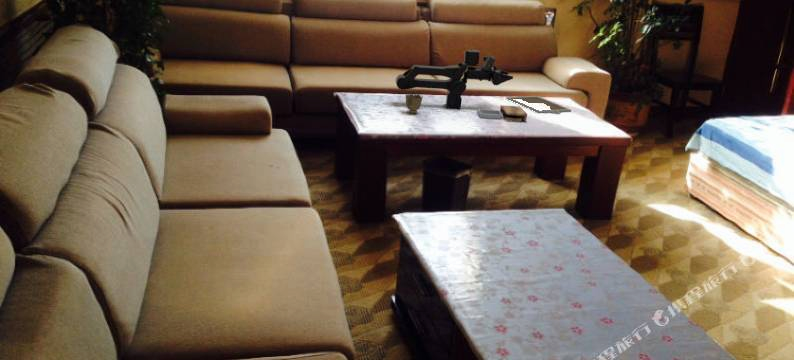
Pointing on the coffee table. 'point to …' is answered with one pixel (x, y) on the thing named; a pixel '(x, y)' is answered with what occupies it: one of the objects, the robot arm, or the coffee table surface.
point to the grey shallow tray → (490, 114)
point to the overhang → (514, 112)
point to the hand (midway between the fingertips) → (510, 75)
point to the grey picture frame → (536, 99)
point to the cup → (413, 102)
